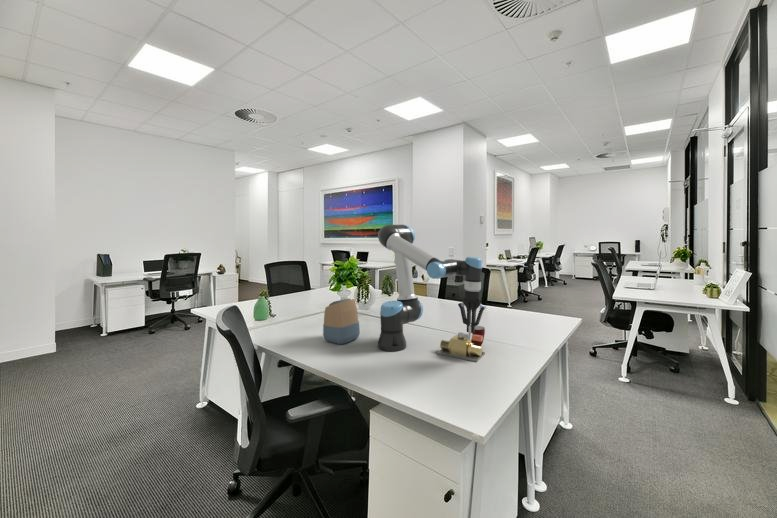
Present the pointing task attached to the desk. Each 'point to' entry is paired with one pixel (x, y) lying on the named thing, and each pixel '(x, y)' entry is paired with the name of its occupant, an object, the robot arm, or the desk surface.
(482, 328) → the mug
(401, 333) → the robot arm
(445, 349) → the valve block
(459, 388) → the desk surface
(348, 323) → the two-tone tapered canister
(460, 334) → the lever
